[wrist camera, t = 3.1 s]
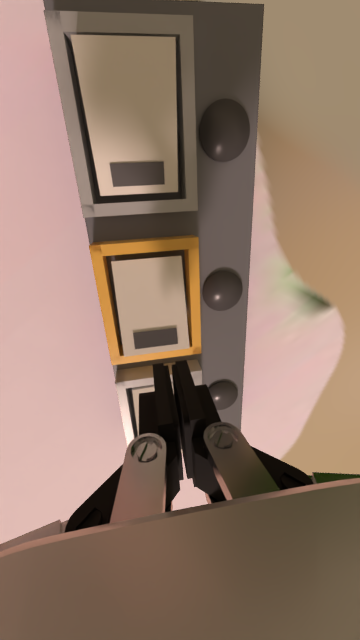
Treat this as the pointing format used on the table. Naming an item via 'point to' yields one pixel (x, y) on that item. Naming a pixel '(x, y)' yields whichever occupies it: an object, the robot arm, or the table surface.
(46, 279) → the table surface
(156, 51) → the rocker
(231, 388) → the rocker switch panel
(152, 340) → the rocker middle
